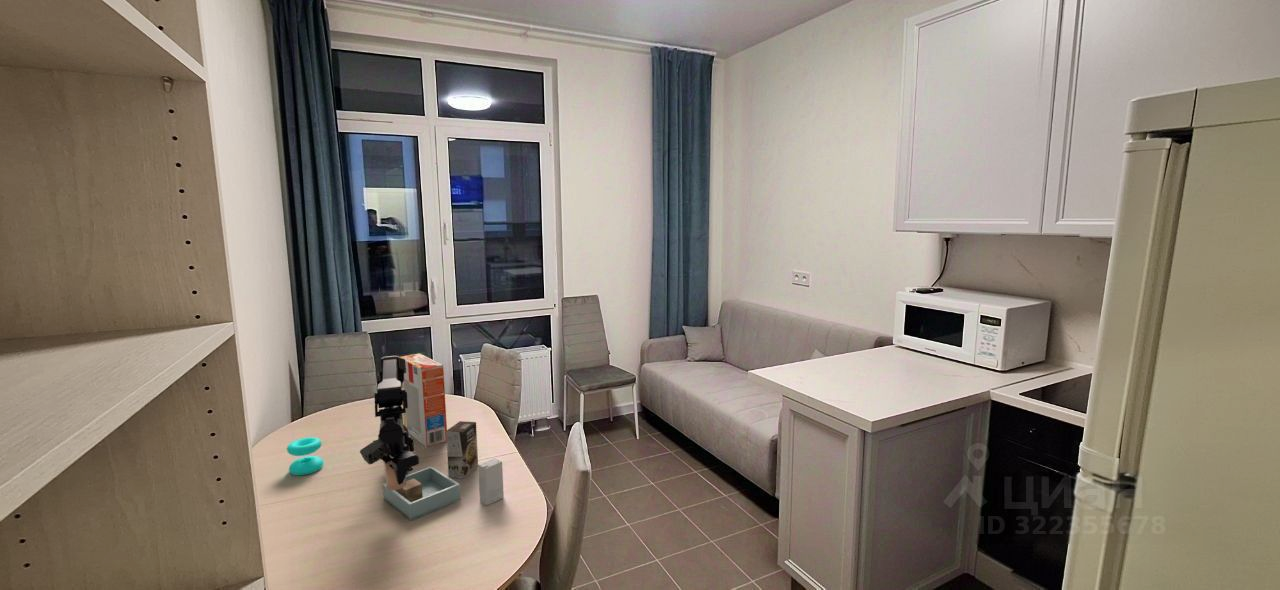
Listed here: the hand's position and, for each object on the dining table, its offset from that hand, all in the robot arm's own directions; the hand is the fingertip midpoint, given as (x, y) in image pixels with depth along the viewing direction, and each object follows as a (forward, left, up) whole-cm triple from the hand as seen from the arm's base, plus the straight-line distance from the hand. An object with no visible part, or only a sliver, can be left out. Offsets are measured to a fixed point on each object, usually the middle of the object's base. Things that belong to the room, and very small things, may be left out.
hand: (396, 480), depth 156 cm
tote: (-3, +9, -11) cm, 14 cm away
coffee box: (-10, +27, -11) cm, 30 cm away
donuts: (-51, -8, -11) cm, 53 cm away
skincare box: (+13, +23, -11) cm, 28 cm away
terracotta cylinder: (0, 0, -2) cm, 2 cm away
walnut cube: (-4, +5, -10) cm, 12 cm away
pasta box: (-49, +33, -11) cm, 60 cm away
